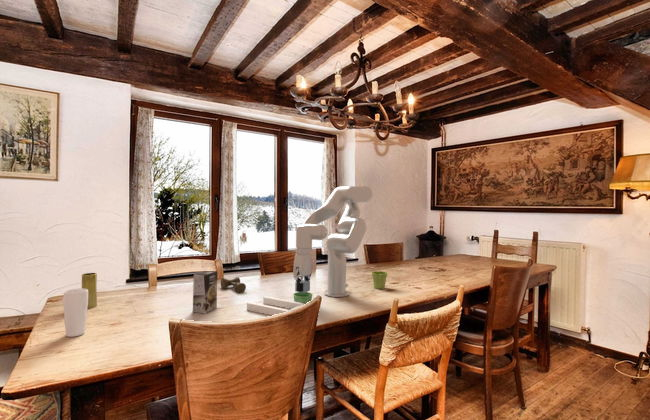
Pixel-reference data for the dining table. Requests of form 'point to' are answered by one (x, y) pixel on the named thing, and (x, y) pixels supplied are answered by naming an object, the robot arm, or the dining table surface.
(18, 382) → the dining table surface
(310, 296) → the ramekin
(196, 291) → the coffee box
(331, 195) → the robot arm
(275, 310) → the channel
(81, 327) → the drinking glass
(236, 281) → the kendama
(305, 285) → the block
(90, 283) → the vase
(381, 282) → the plant pot
